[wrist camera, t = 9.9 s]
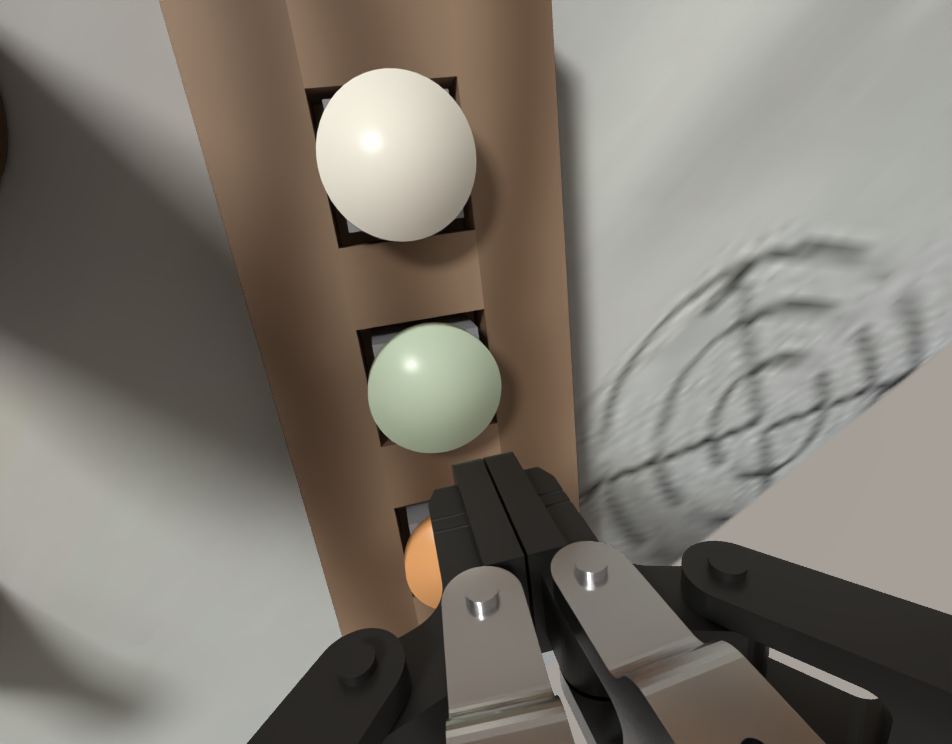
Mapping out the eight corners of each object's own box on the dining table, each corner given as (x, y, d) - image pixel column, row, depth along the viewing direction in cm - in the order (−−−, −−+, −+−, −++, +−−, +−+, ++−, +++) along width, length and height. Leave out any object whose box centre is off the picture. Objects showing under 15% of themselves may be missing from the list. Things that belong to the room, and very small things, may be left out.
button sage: (472, 299, 21) (493, 316, 17) (485, 403, 22) (507, 438, 19) (357, 318, 20) (354, 339, 16) (379, 424, 21) (381, 465, 18)
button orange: (492, 458, 23) (514, 501, 20) (502, 541, 25) (524, 594, 21) (391, 481, 22) (395, 530, 19) (409, 564, 24) (416, 623, 21)
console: (522, 17, 18) (550, -19, 16) (561, 553, 27) (584, 592, 24) (194, 37, 16) (158, 0, 14) (350, 609, 25) (348, 657, 22)
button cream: (446, 92, 18) (465, 62, 14) (463, 228, 20) (484, 230, 16) (312, 104, 17) (297, 75, 14) (341, 245, 19) (335, 251, 15)
